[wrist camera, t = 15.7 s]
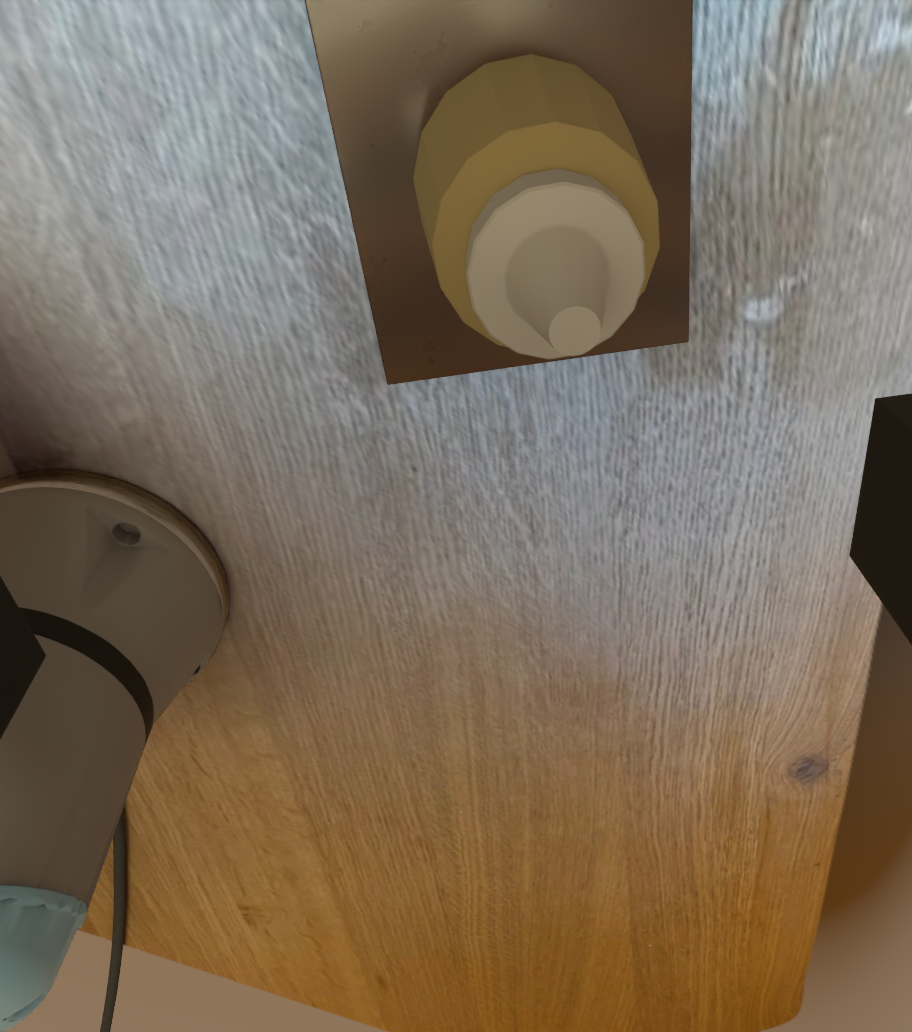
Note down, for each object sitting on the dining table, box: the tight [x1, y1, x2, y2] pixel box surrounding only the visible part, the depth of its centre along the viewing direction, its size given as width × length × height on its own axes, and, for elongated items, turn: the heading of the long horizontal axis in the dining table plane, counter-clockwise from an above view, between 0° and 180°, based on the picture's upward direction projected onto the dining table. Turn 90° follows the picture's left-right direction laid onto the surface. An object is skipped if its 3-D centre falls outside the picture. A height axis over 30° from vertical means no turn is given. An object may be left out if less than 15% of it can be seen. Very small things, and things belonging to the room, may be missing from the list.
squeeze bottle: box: [413, 54, 660, 359], centre depth 26 cm, size 8×8×18 cm
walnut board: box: [305, 0, 693, 385], centre depth 34 cm, size 18×14×1 cm
